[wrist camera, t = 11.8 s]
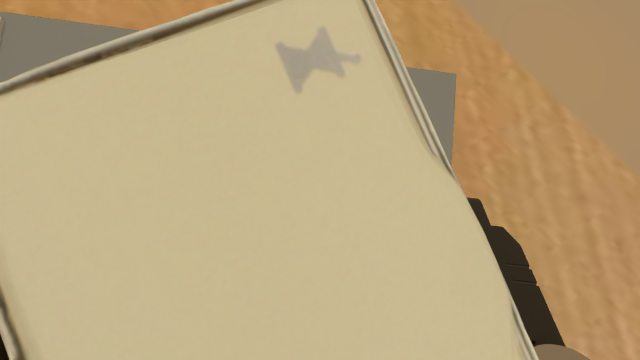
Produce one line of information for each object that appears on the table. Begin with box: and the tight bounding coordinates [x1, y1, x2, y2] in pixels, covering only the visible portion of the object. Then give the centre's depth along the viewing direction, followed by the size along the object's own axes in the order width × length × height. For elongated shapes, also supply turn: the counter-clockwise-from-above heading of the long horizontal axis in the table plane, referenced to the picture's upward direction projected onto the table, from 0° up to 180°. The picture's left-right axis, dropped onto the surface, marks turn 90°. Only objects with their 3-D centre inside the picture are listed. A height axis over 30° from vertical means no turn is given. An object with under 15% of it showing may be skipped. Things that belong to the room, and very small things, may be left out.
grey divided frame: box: [0, 12, 456, 165], centre depth 20 cm, size 24×15×3 cm, turn 84°
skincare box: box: [0, 0, 539, 360], centre depth 11 cm, size 6×4×12 cm
